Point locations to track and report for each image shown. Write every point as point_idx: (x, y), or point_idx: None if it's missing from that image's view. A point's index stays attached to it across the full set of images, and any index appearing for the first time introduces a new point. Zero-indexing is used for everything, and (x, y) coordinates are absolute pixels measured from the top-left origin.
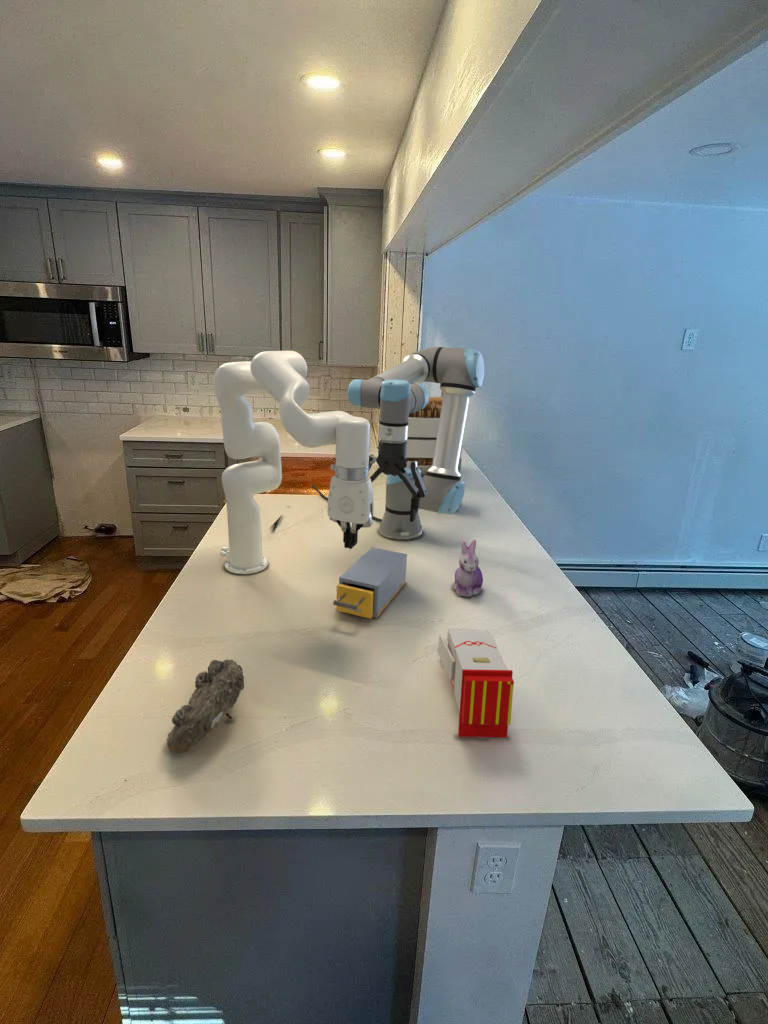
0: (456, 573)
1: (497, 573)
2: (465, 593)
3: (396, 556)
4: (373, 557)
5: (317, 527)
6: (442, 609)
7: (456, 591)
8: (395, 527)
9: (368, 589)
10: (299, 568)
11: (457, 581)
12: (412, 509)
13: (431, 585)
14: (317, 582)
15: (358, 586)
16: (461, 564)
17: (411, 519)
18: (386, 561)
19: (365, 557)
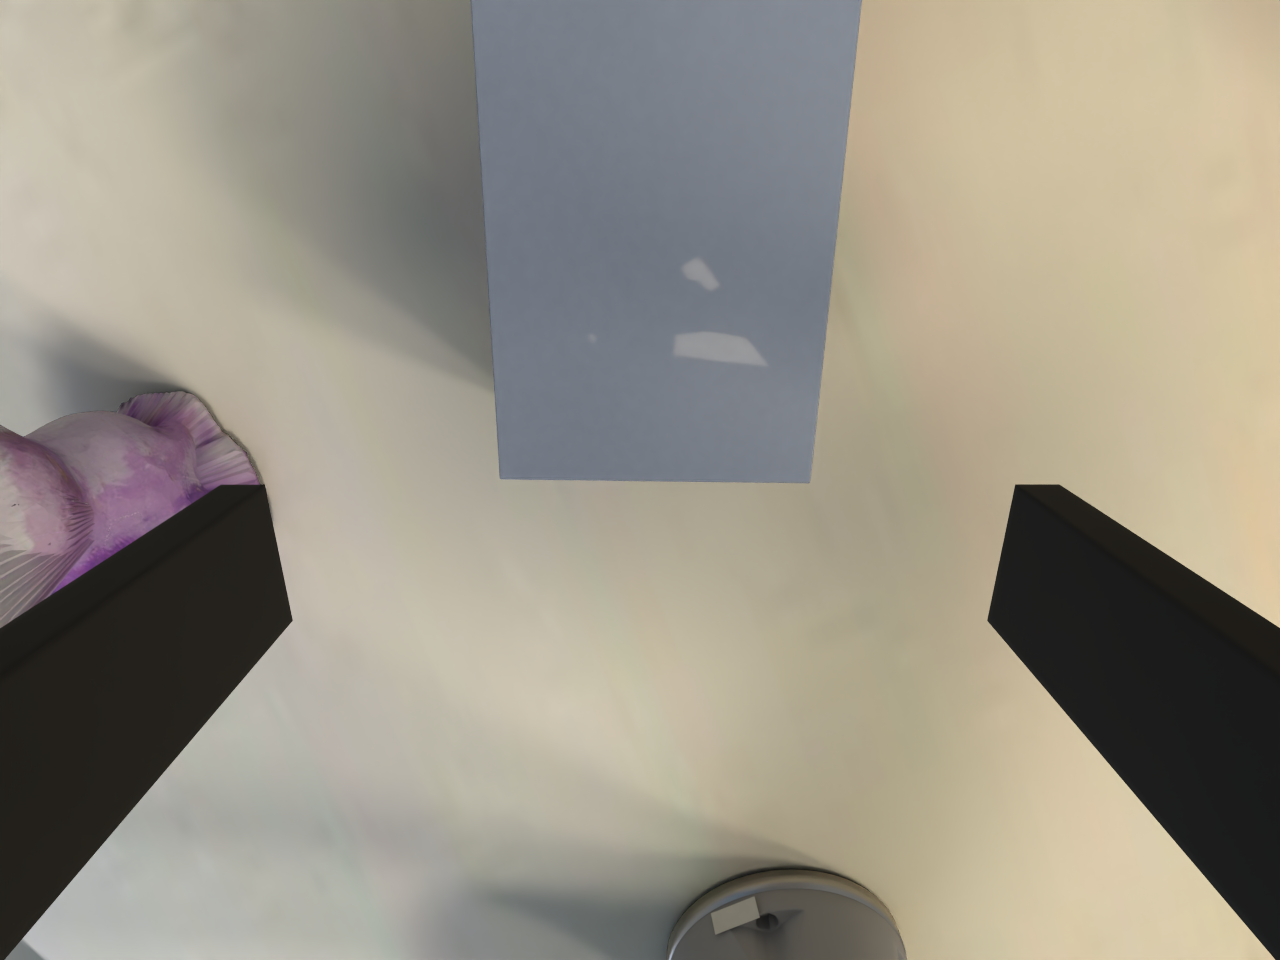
0: None
1: None
2: (140, 404)
3: (558, 399)
4: (729, 292)
5: None
6: (193, 177)
7: (216, 426)
8: (799, 942)
9: None
10: (1243, 311)
11: (161, 433)
12: (79, 588)
13: (386, 450)
14: (1071, 169)
15: None
16: (9, 447)
17: (217, 499)
18: (596, 263)
19: (795, 260)
